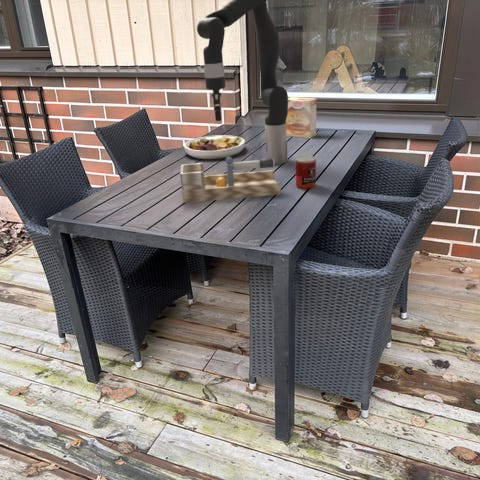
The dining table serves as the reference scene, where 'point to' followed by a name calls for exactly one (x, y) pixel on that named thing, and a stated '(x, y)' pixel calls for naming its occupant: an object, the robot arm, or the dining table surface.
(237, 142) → the bowl
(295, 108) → the coffeecake box
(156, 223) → the dining table surface
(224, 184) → the ball
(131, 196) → the dining table surface
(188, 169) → the game board
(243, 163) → the rod
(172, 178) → the dining table surface
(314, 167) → the canned food
